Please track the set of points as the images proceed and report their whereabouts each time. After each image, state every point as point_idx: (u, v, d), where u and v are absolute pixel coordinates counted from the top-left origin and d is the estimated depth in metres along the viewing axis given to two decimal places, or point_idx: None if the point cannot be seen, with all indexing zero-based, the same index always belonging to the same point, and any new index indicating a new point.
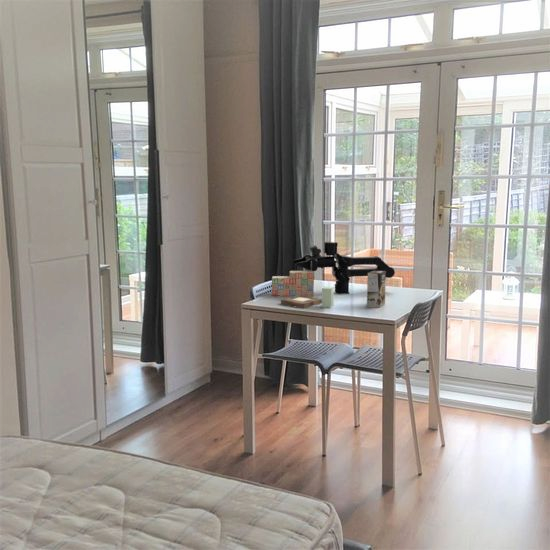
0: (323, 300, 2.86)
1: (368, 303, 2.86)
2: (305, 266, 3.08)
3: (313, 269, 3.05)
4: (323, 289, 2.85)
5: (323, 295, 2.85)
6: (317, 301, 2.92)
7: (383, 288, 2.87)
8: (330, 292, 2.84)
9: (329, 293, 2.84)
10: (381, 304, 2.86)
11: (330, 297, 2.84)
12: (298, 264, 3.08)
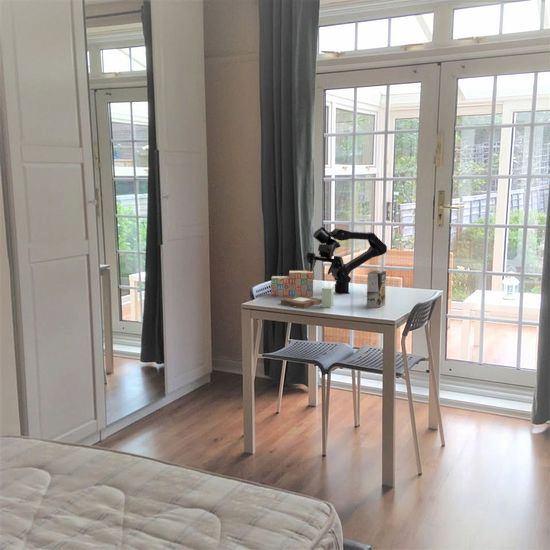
0: (323, 300, 2.86)
1: (368, 303, 2.86)
2: (333, 268, 3.04)
3: (342, 265, 3.05)
4: (323, 289, 2.85)
5: (323, 295, 2.85)
6: (317, 301, 2.92)
7: (383, 288, 2.87)
8: (330, 292, 2.84)
9: (329, 293, 2.84)
10: (381, 304, 2.86)
11: (330, 297, 2.84)
12: (329, 272, 3.02)
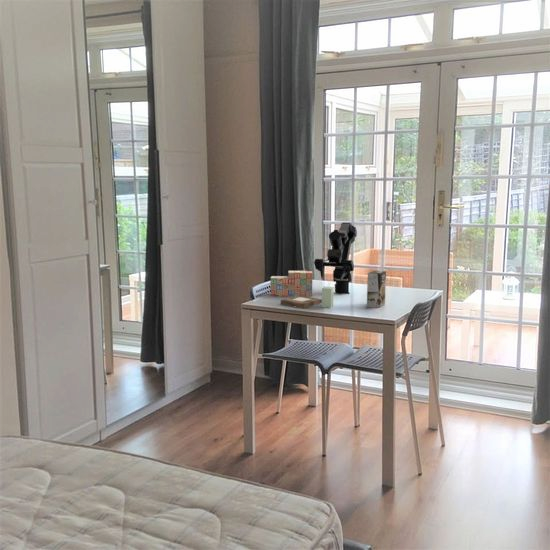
0: (323, 300, 2.86)
1: (368, 303, 2.86)
2: (345, 273, 2.94)
3: (353, 269, 2.95)
4: (323, 289, 2.85)
5: (323, 295, 2.85)
6: (317, 301, 2.92)
7: (383, 288, 2.87)
8: (330, 292, 2.84)
9: (329, 293, 2.84)
10: (381, 304, 2.86)
11: (330, 297, 2.84)
12: (342, 277, 2.91)
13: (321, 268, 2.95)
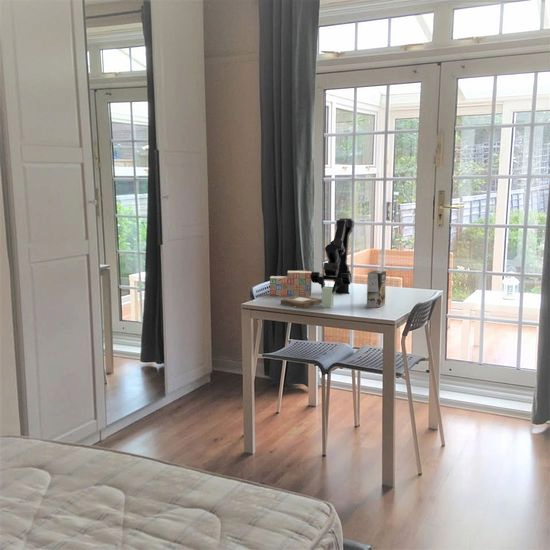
0: (323, 300, 2.86)
1: (368, 303, 2.86)
2: (337, 286, 2.88)
3: (350, 282, 2.90)
4: (323, 289, 2.85)
5: (323, 295, 2.85)
6: (317, 301, 2.92)
7: (383, 288, 2.87)
8: (330, 292, 2.84)
9: (329, 293, 2.84)
10: (381, 304, 2.86)
11: (330, 297, 2.84)
12: (334, 291, 2.86)
13: (322, 282, 2.89)
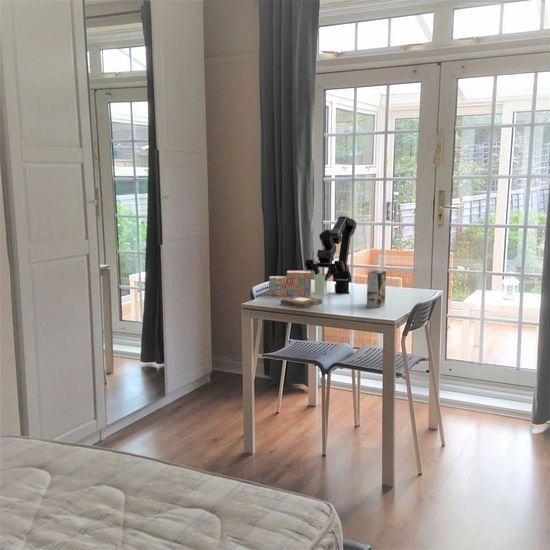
0: (316, 287, 2.86)
1: (368, 303, 2.86)
2: (331, 273, 2.88)
3: (344, 270, 2.89)
4: (316, 276, 2.85)
5: (316, 282, 2.86)
6: (317, 301, 2.92)
7: (383, 288, 2.87)
8: (322, 279, 2.84)
9: (321, 280, 2.84)
10: (381, 304, 2.86)
11: (322, 284, 2.84)
12: (327, 278, 2.86)
13: (316, 269, 2.89)
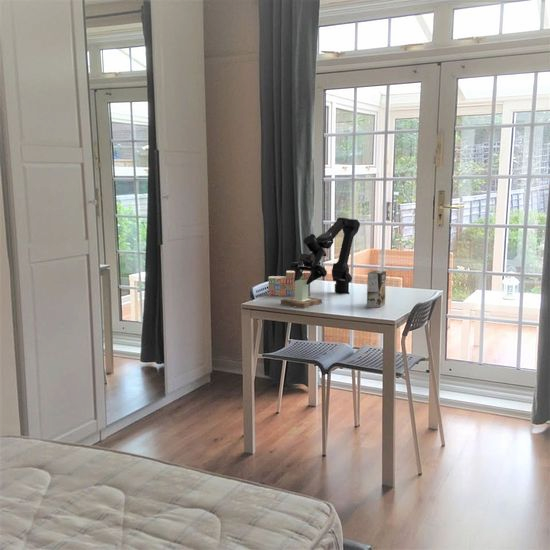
0: (296, 292, 2.92)
1: (368, 303, 2.86)
2: (314, 278, 2.91)
3: (325, 274, 2.91)
4: (296, 282, 2.92)
5: (296, 288, 2.92)
6: (317, 301, 2.92)
7: (383, 288, 2.87)
8: (301, 285, 2.90)
9: (300, 286, 2.90)
10: (381, 304, 2.86)
11: (301, 290, 2.90)
12: (309, 282, 2.90)
13: (296, 272, 2.96)
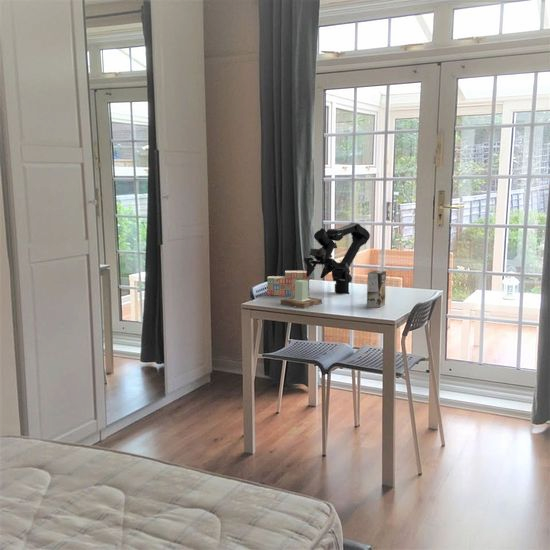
0: (296, 292, 2.92)
1: (368, 303, 2.86)
2: (327, 271, 2.98)
3: (337, 267, 2.97)
4: (296, 282, 2.92)
5: (296, 288, 2.92)
6: (317, 301, 2.92)
7: (383, 288, 2.87)
8: (301, 285, 2.90)
9: (300, 286, 2.90)
10: (381, 304, 2.86)
11: (301, 290, 2.90)
12: (322, 276, 2.97)
13: (308, 266, 3.04)
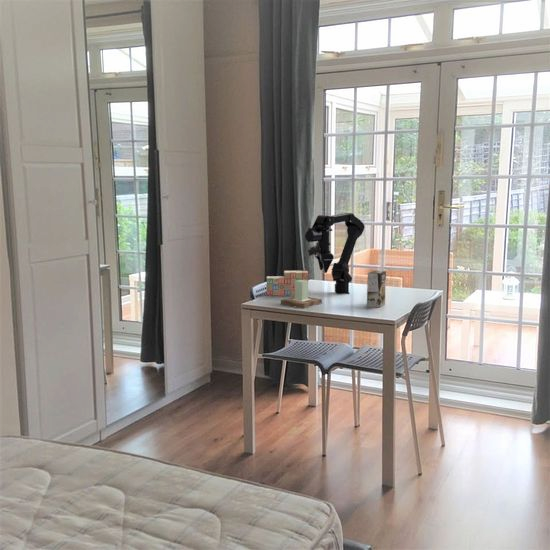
0: (296, 292, 2.92)
1: (368, 303, 2.86)
2: (328, 264, 3.01)
3: (332, 258, 2.97)
4: (296, 282, 2.92)
5: (296, 288, 2.92)
6: (317, 301, 2.92)
7: (383, 288, 2.87)
8: (301, 285, 2.90)
9: (300, 286, 2.90)
10: (381, 304, 2.86)
11: (301, 290, 2.90)
12: (325, 270, 3.02)
13: (318, 260, 3.12)
